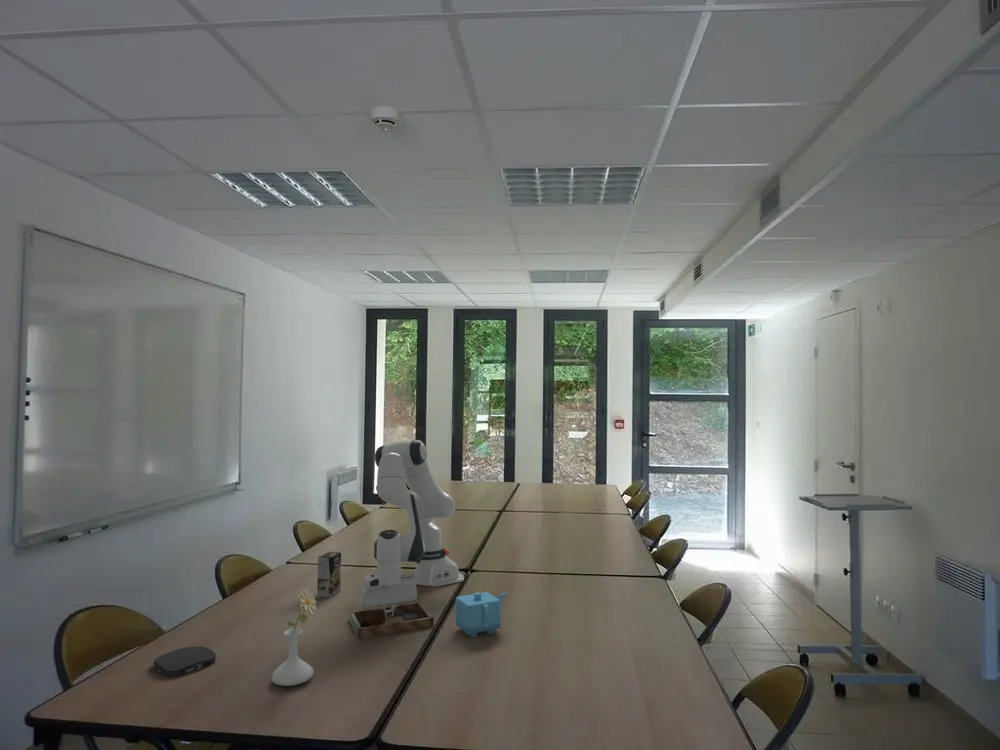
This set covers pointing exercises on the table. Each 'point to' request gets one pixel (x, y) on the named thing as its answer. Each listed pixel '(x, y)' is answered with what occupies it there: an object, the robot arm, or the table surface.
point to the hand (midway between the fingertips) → (388, 616)
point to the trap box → (392, 627)
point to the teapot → (478, 613)
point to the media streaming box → (184, 661)
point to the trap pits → (411, 616)
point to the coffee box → (329, 574)
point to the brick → (373, 618)
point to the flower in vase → (294, 667)
